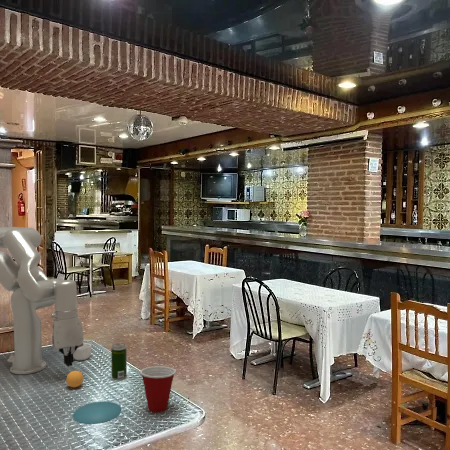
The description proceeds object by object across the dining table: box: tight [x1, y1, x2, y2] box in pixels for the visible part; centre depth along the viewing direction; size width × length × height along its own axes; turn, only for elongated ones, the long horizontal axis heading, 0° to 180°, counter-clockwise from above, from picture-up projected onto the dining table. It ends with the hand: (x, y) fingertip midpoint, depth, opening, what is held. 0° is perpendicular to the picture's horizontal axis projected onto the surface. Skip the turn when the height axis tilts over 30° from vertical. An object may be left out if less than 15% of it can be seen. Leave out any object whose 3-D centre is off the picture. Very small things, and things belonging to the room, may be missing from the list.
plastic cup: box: [140, 365, 177, 414], centre depth 133 cm, size 11×11×12 cm
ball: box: [65, 370, 84, 388], centre depth 149 cm, size 6×6×6 cm
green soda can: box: [110, 342, 128, 381], centre depth 157 cm, size 5×5×12 cm
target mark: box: [72, 400, 122, 425], centre depth 130 cm, size 14×14×1 cm
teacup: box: [73, 342, 92, 362], centre depth 177 cm, size 10×8×5 cm
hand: (68, 364), depth 156 cm, fingers closed
